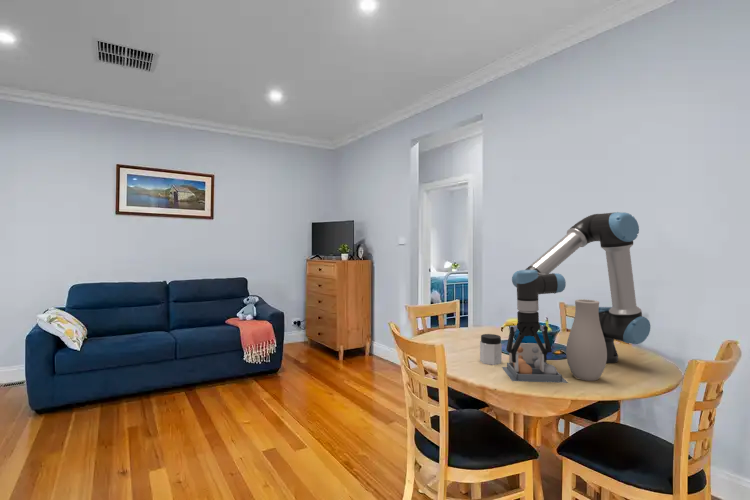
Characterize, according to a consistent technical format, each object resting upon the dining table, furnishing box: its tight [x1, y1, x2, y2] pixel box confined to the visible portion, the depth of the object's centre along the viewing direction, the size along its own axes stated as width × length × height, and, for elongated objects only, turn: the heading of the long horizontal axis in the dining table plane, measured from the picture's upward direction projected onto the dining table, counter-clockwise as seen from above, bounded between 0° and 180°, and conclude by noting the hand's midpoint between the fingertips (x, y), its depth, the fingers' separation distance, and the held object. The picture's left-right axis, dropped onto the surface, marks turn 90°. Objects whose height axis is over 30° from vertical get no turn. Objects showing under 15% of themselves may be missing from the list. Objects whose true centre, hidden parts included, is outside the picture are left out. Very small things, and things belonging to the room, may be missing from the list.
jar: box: [479, 333, 503, 366], centre depth 176 cm, size 9×8×12 cm
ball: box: [518, 364, 532, 374], centre depth 157 cm, size 5×5×5 cm
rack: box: [501, 342, 569, 384], centre depth 160 cm, size 20×17×11 cm
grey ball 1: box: [534, 359, 548, 369], centre depth 163 cm, size 5×5×5 cm
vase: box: [565, 298, 607, 382], centre depth 157 cm, size 14×14×30 cm
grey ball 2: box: [543, 363, 558, 375], centre depth 156 cm, size 5×5×5 cm
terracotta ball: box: [513, 358, 526, 368], centre depth 164 cm, size 5×5×5 cm
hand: (529, 370), depth 157 cm, fingers open, 9 cm apart
